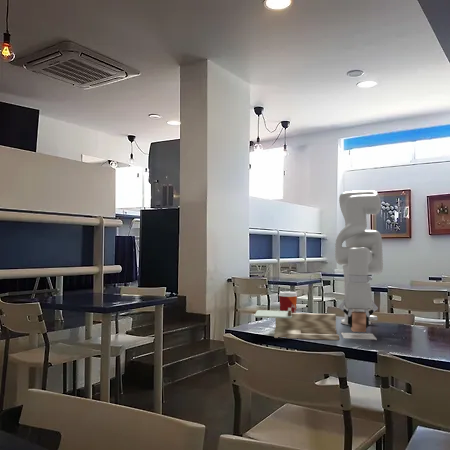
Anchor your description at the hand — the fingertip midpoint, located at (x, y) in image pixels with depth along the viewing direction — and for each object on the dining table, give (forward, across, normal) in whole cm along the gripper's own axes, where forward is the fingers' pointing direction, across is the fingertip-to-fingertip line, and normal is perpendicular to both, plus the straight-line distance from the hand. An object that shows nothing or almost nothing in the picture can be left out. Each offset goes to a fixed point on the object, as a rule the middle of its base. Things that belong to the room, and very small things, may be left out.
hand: (358, 326), depth 181 cm
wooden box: (+4, +20, 0) cm, 20 cm away
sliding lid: (-4, +32, 0) cm, 33 cm away
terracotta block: (+2, 0, 0) cm, 2 cm away
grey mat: (+4, 0, 0) cm, 4 cm away
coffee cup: (+4, +27, -17) cm, 32 cm away
